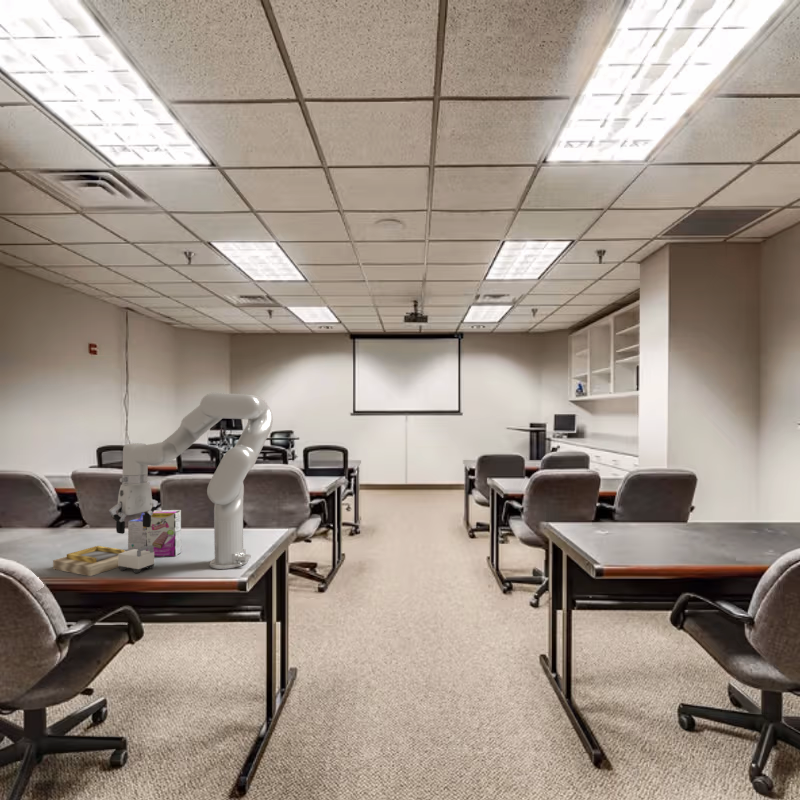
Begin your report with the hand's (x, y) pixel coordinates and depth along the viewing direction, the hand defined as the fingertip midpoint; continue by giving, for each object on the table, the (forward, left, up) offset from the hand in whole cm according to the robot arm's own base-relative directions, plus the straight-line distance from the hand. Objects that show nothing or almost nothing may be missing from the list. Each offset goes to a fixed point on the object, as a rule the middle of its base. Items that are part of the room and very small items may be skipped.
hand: (133, 529), depth 163 cm
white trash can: (-1, 0, -13) cm, 13 cm away
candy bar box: (+4, -15, -14) cm, 21 cm away
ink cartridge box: (+16, -16, -14) cm, 27 cm away
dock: (+17, +2, -13) cm, 22 cm away
